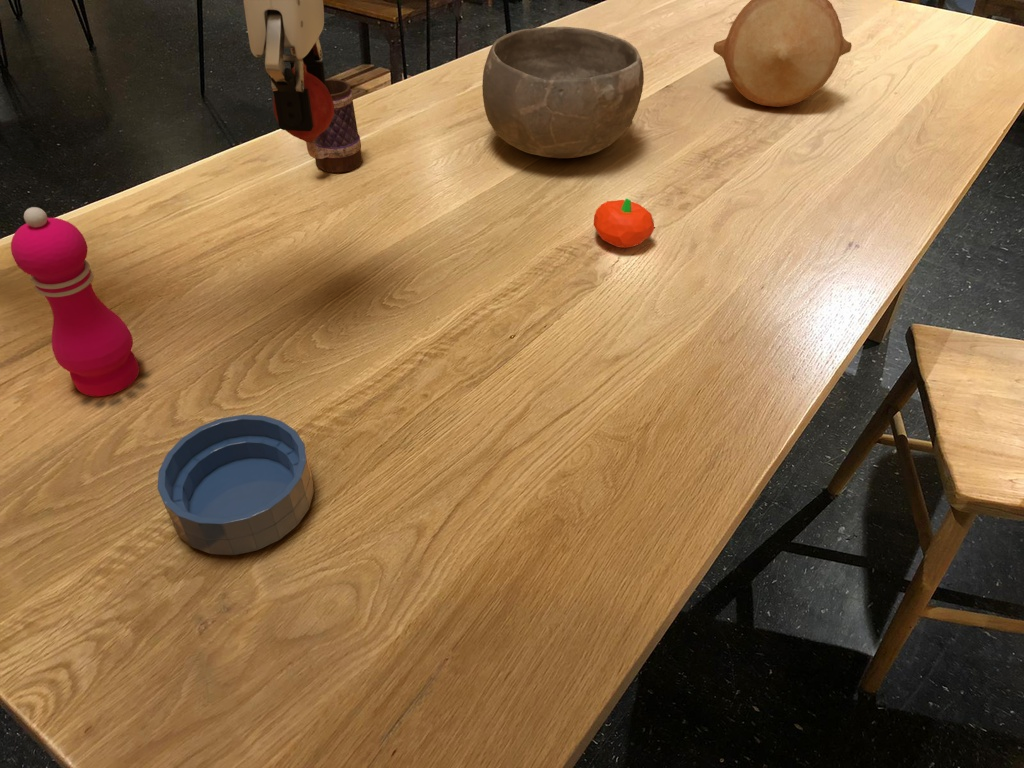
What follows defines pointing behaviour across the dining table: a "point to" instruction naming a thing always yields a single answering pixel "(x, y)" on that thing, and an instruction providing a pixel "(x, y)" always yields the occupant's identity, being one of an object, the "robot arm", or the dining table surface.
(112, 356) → the pepper mill
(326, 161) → the mug
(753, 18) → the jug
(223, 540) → the blue bowl
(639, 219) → the pumpkin
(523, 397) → the dining table surface
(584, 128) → the bowl
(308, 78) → the onion
